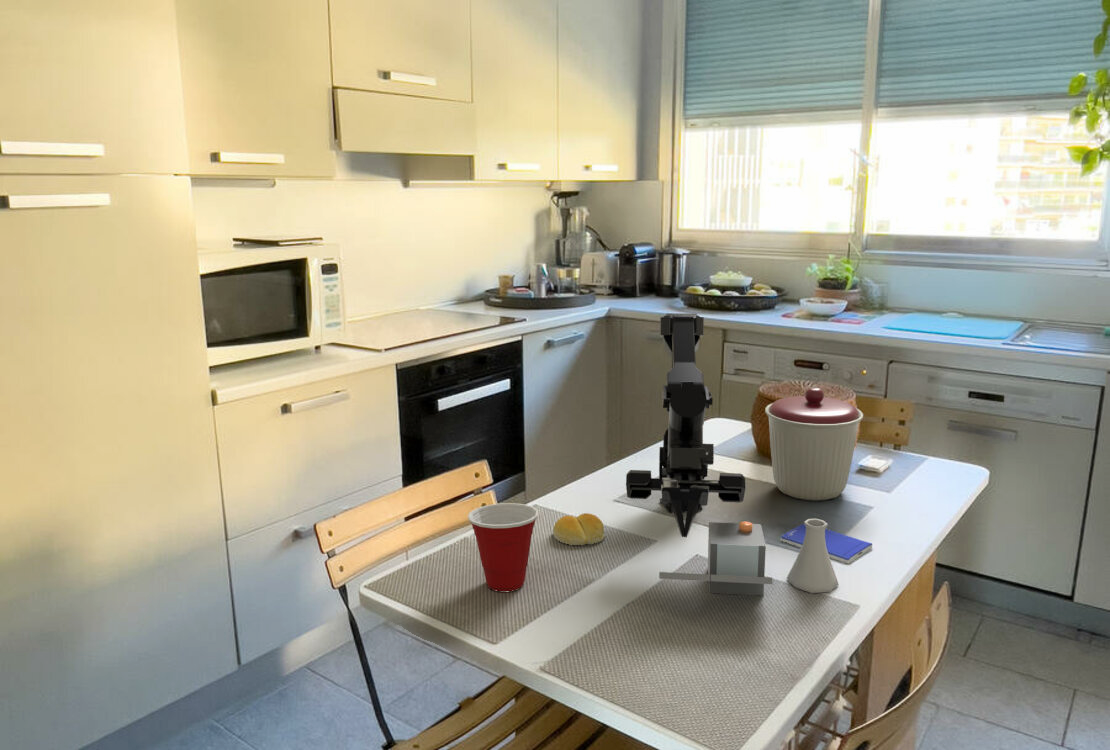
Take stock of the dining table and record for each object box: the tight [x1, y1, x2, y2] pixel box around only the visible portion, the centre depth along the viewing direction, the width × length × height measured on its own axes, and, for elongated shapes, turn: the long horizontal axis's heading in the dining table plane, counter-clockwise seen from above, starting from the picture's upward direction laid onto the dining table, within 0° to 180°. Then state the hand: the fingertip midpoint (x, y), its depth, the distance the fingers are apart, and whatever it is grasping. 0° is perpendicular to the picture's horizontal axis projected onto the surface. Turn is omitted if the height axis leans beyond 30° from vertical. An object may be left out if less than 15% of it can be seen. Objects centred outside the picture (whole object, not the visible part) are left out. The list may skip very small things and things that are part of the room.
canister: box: [764, 387, 864, 502], centre depth 165 cm, size 18×18×21 cm
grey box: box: [707, 520, 767, 597], centre depth 130 cm, size 9×8×9 cm
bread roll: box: [552, 512, 606, 546], centre depth 148 cm, size 8×9×4 cm
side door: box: [659, 571, 773, 585], centre depth 122 cm, size 1×16×8 cm
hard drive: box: [780, 522, 873, 564], centre depth 144 cm, size 2×8×12 cm
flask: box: [786, 518, 839, 594], centre depth 129 cm, size 7×7×10 cm
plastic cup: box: [467, 502, 539, 592], centre depth 131 cm, size 11×11×12 cm
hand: (684, 536), depth 132 cm, fingers closed
